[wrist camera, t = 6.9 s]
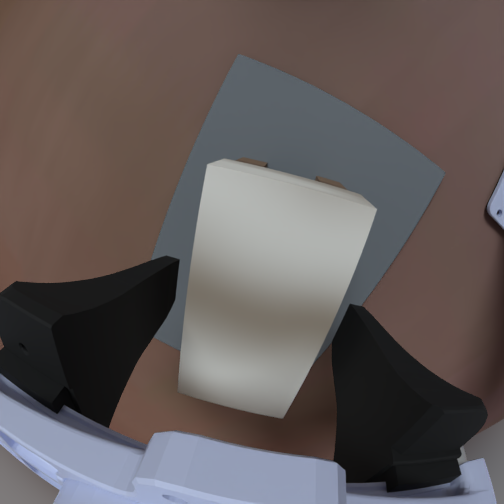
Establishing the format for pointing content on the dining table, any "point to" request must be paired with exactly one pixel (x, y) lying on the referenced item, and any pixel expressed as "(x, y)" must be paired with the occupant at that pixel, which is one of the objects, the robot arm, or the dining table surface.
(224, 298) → the cream block with tabs
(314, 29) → the dining table surface
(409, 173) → the mat
